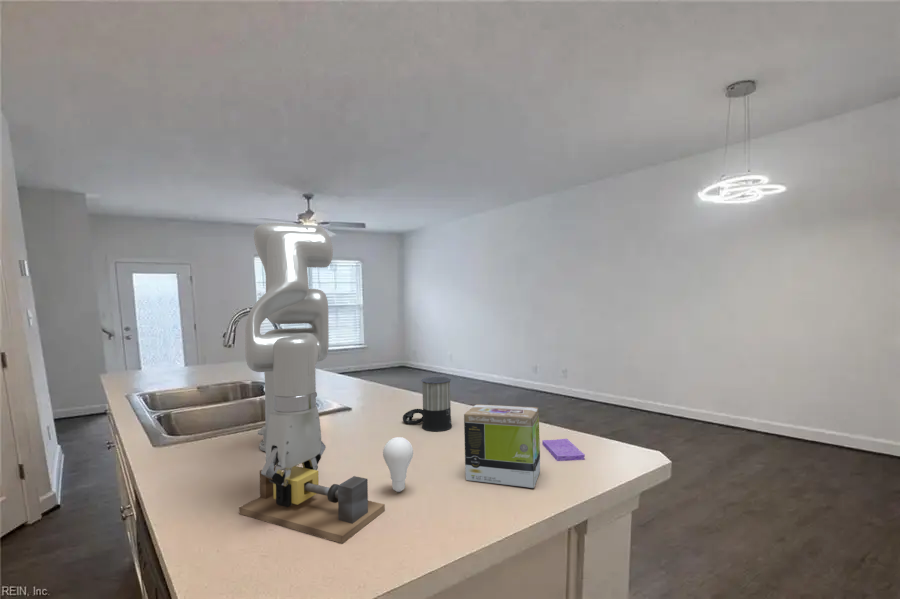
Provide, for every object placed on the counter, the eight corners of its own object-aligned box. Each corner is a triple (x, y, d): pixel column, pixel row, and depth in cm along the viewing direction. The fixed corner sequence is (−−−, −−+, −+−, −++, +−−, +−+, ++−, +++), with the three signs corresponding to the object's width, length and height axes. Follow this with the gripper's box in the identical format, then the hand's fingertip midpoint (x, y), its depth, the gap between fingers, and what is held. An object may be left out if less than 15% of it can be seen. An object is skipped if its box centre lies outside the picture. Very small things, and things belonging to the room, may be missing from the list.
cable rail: (239, 513, 81) (238, 474, 81) (288, 488, 92) (288, 453, 92) (342, 543, 71) (342, 498, 71) (384, 510, 82) (384, 471, 82)
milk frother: (451, 432, 130) (451, 381, 130) (398, 432, 130) (397, 382, 130) (452, 418, 144) (451, 373, 144) (404, 419, 144) (403, 374, 144)
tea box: (540, 471, 99) (540, 406, 99) (534, 490, 90) (533, 417, 90) (476, 464, 104) (475, 402, 104) (463, 481, 95) (463, 412, 94)
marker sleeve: (273, 498, 82) (273, 476, 82) (295, 487, 87) (294, 465, 87) (297, 504, 79) (297, 481, 79) (318, 492, 84) (318, 470, 84)
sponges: (557, 463, 105) (557, 455, 105) (541, 445, 118) (541, 438, 118) (585, 462, 106) (585, 454, 106) (567, 444, 118) (567, 437, 118)
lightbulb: (389, 500, 86) (388, 444, 86) (379, 489, 91) (378, 436, 91) (418, 494, 88) (417, 439, 88) (407, 483, 94) (406, 431, 94)
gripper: (312, 392, 92) (313, 478, 92) (242, 411, 77) (243, 514, 77) (340, 395, 89) (341, 484, 89) (273, 415, 74) (274, 523, 74)
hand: (296, 497), depth 83 cm, fingers closed on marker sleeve, 5 cm apart
